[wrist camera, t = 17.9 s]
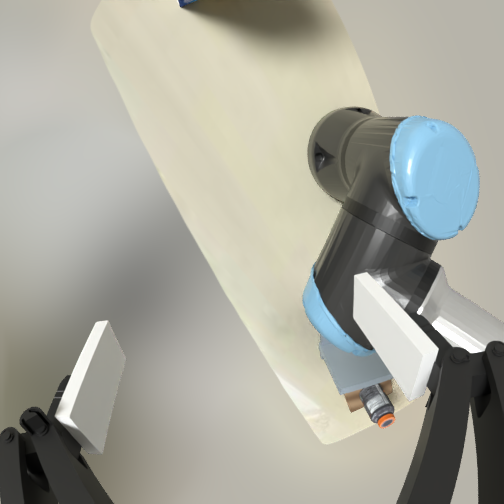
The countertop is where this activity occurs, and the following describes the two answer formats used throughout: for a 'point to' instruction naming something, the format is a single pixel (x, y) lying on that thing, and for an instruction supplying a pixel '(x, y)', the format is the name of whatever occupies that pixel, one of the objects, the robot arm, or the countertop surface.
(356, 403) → the plinth
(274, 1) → the countertop surface
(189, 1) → the beverage box
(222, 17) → the countertop surface
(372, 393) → the pill bottle
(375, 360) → the screen
